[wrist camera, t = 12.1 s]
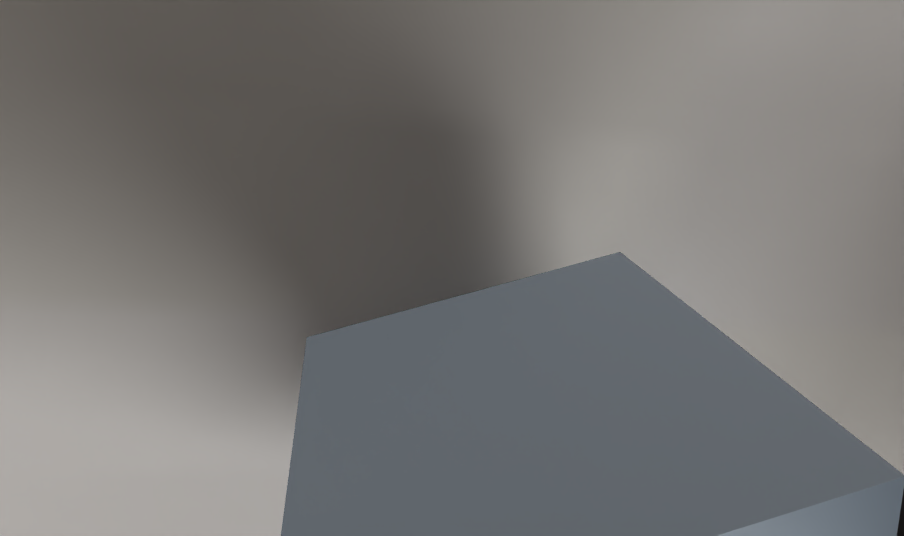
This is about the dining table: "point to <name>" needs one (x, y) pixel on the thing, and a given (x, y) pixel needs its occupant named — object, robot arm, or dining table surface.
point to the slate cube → (568, 424)
